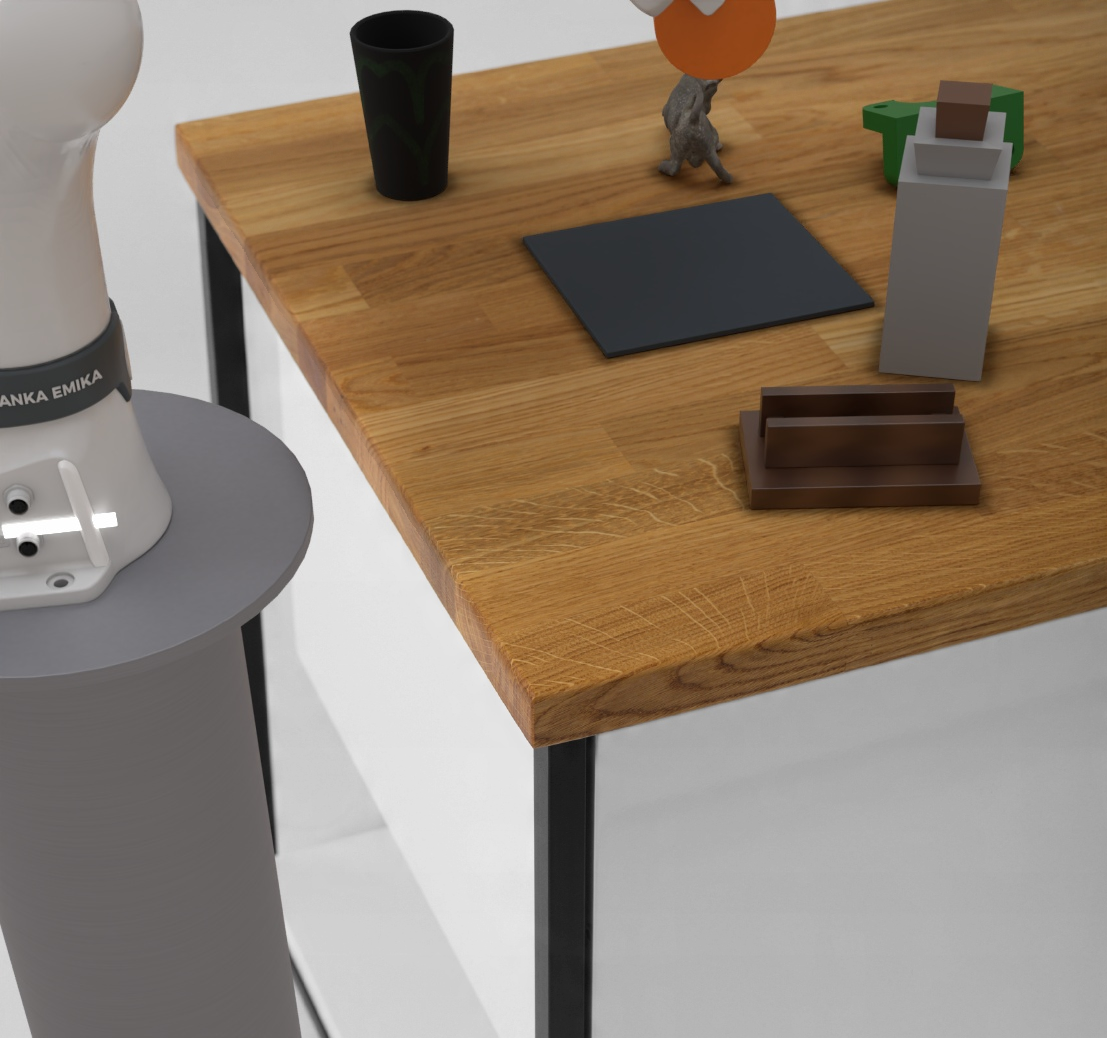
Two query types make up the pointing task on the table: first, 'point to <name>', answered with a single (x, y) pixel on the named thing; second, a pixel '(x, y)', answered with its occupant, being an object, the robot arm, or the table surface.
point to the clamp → (903, 116)
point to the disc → (715, 36)
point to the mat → (694, 274)
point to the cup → (406, 99)
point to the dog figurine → (692, 127)
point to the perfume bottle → (946, 237)
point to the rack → (857, 447)
